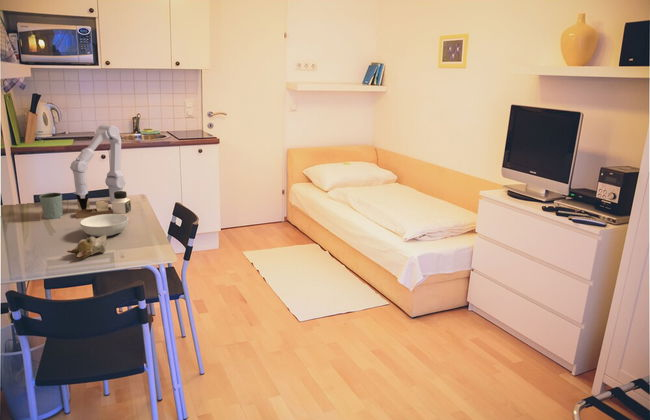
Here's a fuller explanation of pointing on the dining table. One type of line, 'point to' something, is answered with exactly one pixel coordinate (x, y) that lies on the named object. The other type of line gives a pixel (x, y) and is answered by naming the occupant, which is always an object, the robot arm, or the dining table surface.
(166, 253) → the dining table surface
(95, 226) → the serving bowl
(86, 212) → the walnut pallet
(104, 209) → the block
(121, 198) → the medicine bottle
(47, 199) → the green cylindrical pot
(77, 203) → the birch block
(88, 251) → the ceramic sculpture
